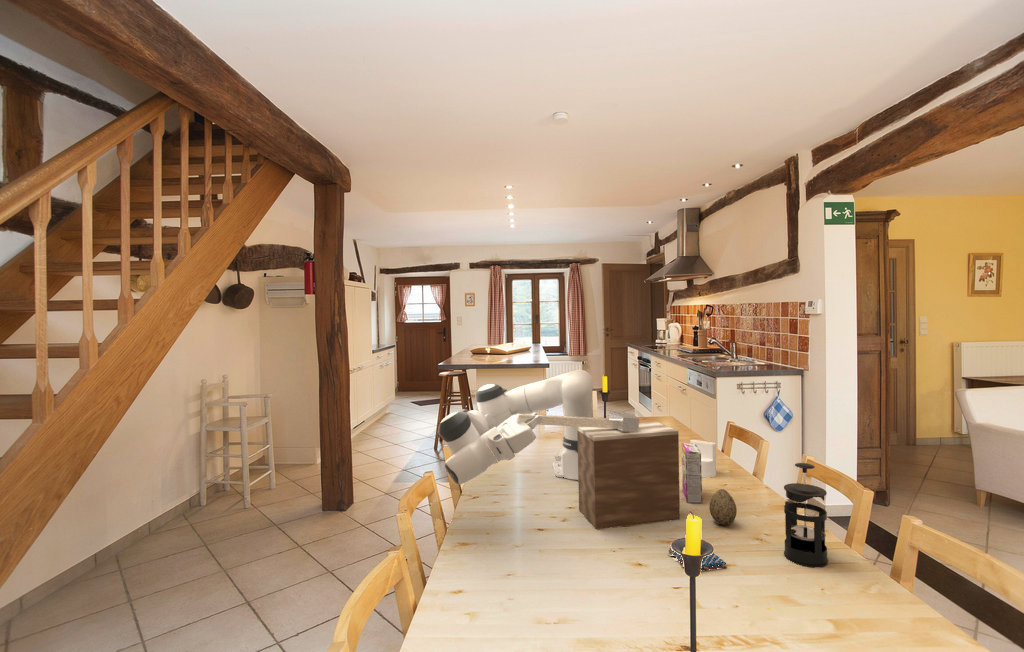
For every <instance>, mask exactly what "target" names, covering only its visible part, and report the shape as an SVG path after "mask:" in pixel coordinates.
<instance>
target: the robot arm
mask: <svg viewBox="0 0 1024 652" xmlns="http://www.w3.org/2000/svg"><path fill="white" fill-rule="evenodd" d="M594 383H595V382H594V379H593V377H592V375H591V374H590V373H589V372H588V371H586V370H584V369H575V370H572V371H568V372H565V373H562V374H558V375H555V376H553V377H549V378H546V379H543V380H537V381H536V382H535V381H534V382H531V383H528V384H523V385H520V386H518V387H516V388H513V389H511V390H509V391H508V390H507V389H506V388H503V387H502V386H501V385H499V384H496V383H489V384H485V385H482V386H481V387H480V388H478V389H477V390H476V391H475V394H474V396H475V402H476V404H477V410H476V409H474V410H472V409H471V410H468V409H467V408H465V409H464V408H463V409H461V410H458V411H456V412H455V411H454V412H452V413H449V414H448V415H447V416H445V417H443V419H442V420H441V422H439V425H438V431H437V434H438V435H439V436H440V437H441V439H442V440H443V441H444V442H445V444H446V445H447V447H448V449H449V450H450V451H451V454H452V456H450V457H449V458H448V459H447V460H446V461H445V463H444V468H445V469H446V472H447V473H448V475H449V476H450V477H451V479H452V480H453V482H454V483H455V484H457V485H460V486H461V485H462V484H465V483H468V482H469V481H471V480H474V479H475V478H477V477H479V476H480V475H481V474H483V473H485V472H486V471H487V470H488V468H490V467H492V466H493V465H496V464H498V463H499V462H501V461H505V460H506V461H511V460H513V459H514V458H515V456H516V454H518V453H520V452H521V451H522V450H524V449H526V448H527V447H528V446H529V445H530V444H532V443H533V442H534V441H535V440H536V438H537V436H536V433H535V432H534V431H533V430H534V429H535V428H536V427H537V426H538V425H537V424H538V423H540V422H541V421H542V418H541V416H539V415H540V414H538V412H541V411H545V410H550V409H553V408H556V407H558V406H561V405H562V410H563V416H571V417H590V418H594V409H593V390H594V386H595V384H594ZM517 414H534V415H537V416H535V417H534V419H532V420H531V421H530V422H527V423H525V422H524V421H522V422H520V423H519V424H518V423H517V422H516V417H517ZM563 427H564V429H563V430H564V431H563V432H564V433H563V434H564V436H563V438H562V447H561V448H560V450H558V452H557V454H555V455H554V461H555V462H553V463H552V465H553V466H552V469H553V468H554V469H553V472H554V475H556V476H557V477H556V476H555V477H556V478H563V477H564V478H565V479H568V480H577V481H578V438H577V427H576V426H563ZM564 478H563V479H564Z"/></svg>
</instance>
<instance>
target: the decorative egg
mask: <svg viewBox="0 0 1024 652" xmlns="http://www.w3.org/2000/svg"><path fill="white" fill-rule="evenodd" d="M737 512H738V511H737V505H736V502H735V500H734V499H733V496H732V494H730V493H729V491H727V490H725V489H724V488H722V489H721V488H719V489H718V490H717V491H716V492H715V493H714V494H713V495H712V497H711V499H710V502H709V513H710V515H711V518H712V519H713V520H714V522H716V523H717V524H719V525H722V526H728V525H730V524H732V523H733V522H734V521H735V519H736V517H737Z"/></svg>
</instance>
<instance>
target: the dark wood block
mask: <svg viewBox="0 0 1024 652" xmlns="http://www.w3.org/2000/svg"><path fill="white" fill-rule="evenodd" d="M679 437H680V436H679V430H678V429H675V428H672V427H670V426H667V425H665V424H662V423H660V422H658V421H656V420H655V421H654V420H653V421H650V420H649V421H639V428H638V432H624V431H620V430H619V429H616V428H596V427H577V438H578V480H577V481H578V482H577V483H578V511H579V513H581V515H582V514H583V515H584V516H583V515H582V516H583V517H584V518H585V519H586V521H587V522H589V524H590V525H591V524H592V525H591V526H592V527H593V528H594V529H595V530H601V529H602V530H603V529H611V528H610V527H612V528H619V527H618V526H620V527H627V526H629V527H630V526H635V525H636V526H638V525H644V524H652V523H661V522H671V521H677V520H678V521H679V520H680V519H681V511H680V507H681V506H680V504H681V503H680V500H681V499H680V449H679V448H680V445H679V443H680V442H679ZM670 520H671V521H670Z"/></svg>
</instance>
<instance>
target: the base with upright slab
mask: <svg viewBox="0 0 1024 652" xmlns="http://www.w3.org/2000/svg"><path fill="white" fill-rule="evenodd" d="M689 443H693V444H696V445H697V447H698V449H699V450H700V452H701V474H702V477H703V478H702V479H708V478H707V477H712V478H715V477H717V445H716V442H710V441H705V440H699V439H690V441H689ZM714 476H715V477H714Z"/></svg>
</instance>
